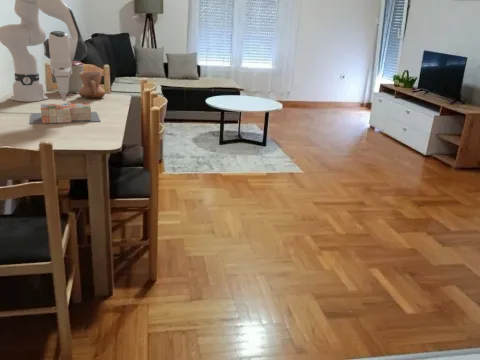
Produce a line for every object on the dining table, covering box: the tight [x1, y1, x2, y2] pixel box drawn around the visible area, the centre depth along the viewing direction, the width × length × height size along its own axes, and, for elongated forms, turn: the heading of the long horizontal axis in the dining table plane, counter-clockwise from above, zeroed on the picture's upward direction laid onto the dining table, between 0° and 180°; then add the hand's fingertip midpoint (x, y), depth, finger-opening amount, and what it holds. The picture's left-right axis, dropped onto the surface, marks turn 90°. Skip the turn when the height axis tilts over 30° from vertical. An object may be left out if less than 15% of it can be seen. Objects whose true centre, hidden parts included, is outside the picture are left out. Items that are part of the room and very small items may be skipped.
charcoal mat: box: [29, 111, 101, 125], centre depth 216 cm, size 20×30×1 cm, turn 111°
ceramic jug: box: [78, 70, 106, 100], centre depth 261 cm, size 18×14×14 cm
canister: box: [55, 60, 85, 94], centre depth 273 cm, size 18×18×21 cm
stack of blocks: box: [40, 103, 92, 124], centre depth 211 cm, size 21×6×12 cm
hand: (64, 100), depth 210 cm, fingers closed
